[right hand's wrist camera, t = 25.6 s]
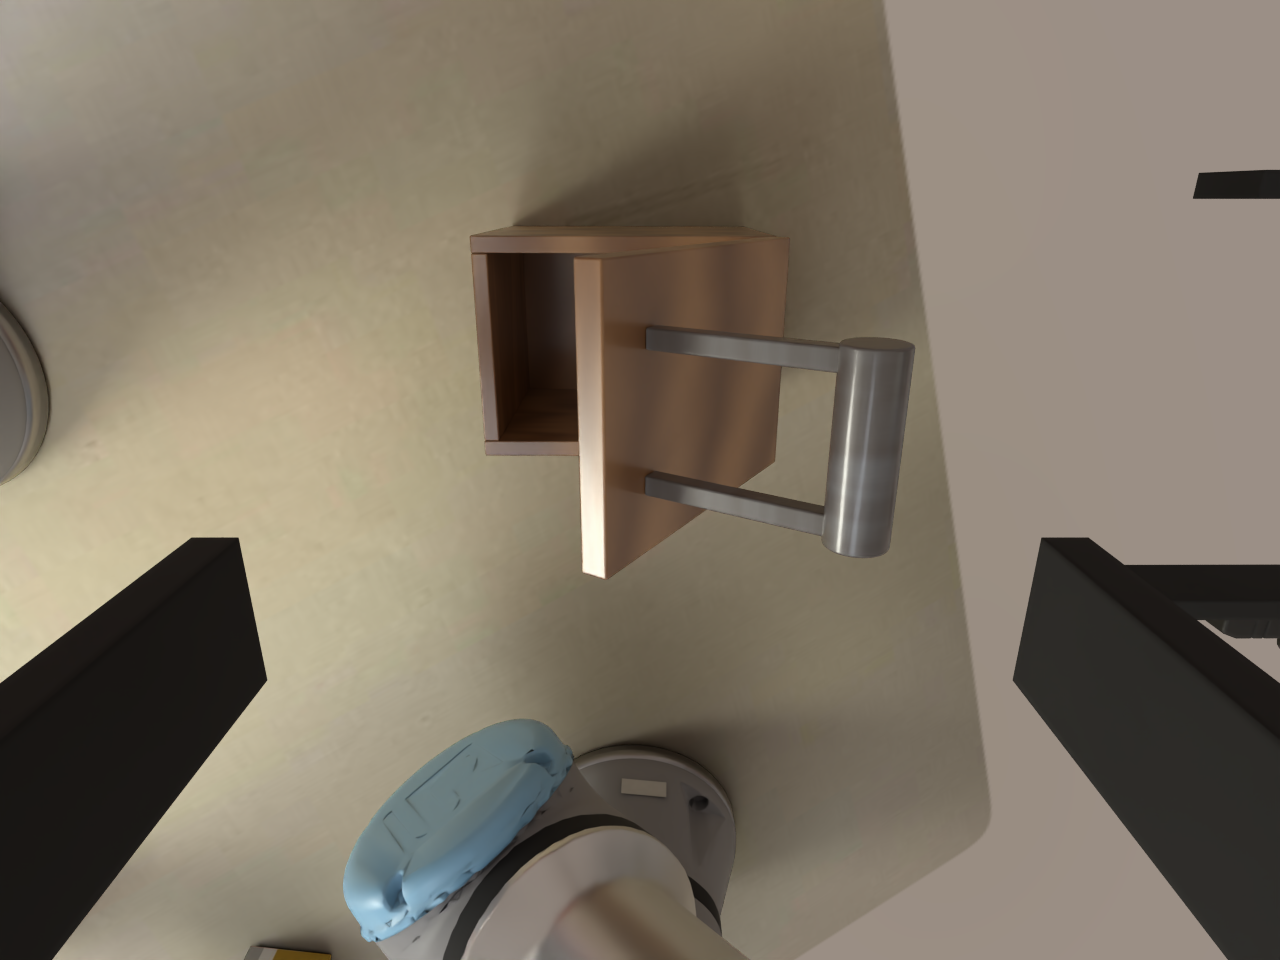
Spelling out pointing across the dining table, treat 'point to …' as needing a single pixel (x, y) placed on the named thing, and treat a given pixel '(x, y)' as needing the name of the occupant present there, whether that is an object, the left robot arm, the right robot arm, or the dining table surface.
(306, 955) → the toy
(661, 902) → the left robot arm
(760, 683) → the dining table surface
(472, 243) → the wooden box
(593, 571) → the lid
